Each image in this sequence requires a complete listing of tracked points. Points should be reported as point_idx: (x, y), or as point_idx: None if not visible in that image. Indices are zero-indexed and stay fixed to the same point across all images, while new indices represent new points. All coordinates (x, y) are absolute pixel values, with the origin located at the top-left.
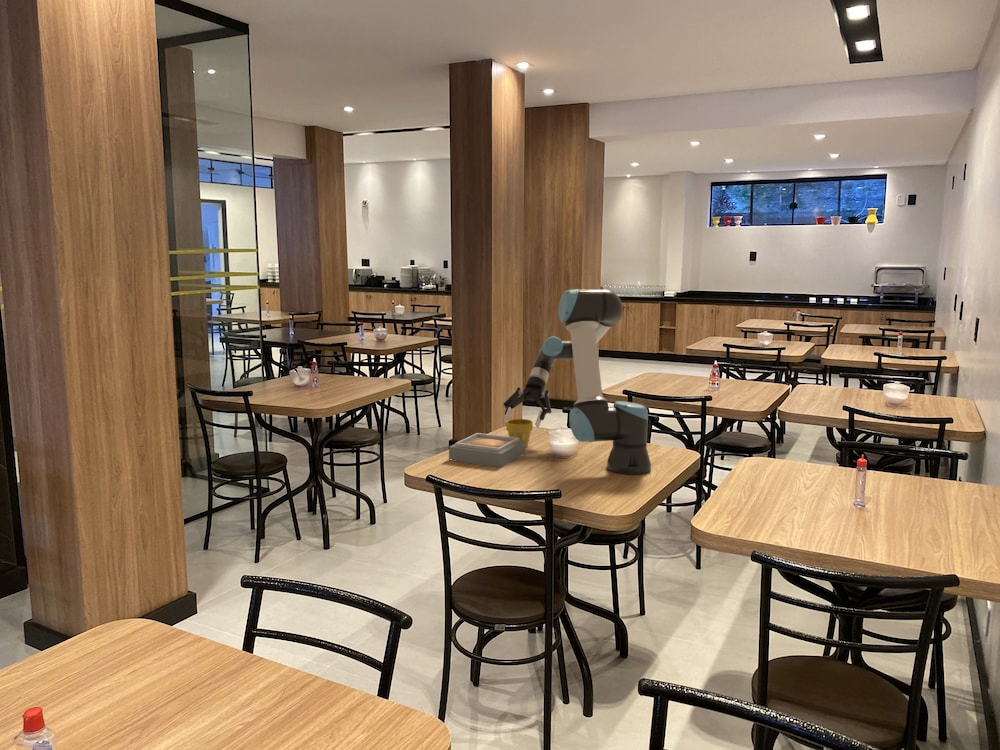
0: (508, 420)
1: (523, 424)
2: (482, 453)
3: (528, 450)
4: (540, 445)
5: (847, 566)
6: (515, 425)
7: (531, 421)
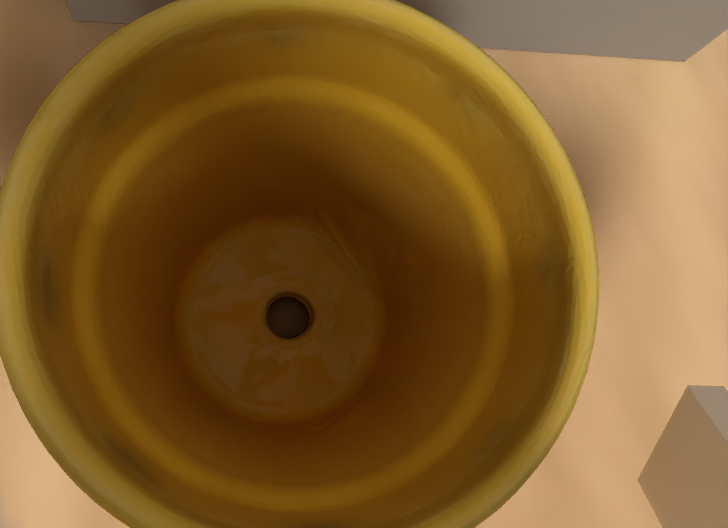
0: (588, 287)
1: (119, 35)
2: None
3: None
4: (19, 488)
5: None
6: None
7: (47, 409)
